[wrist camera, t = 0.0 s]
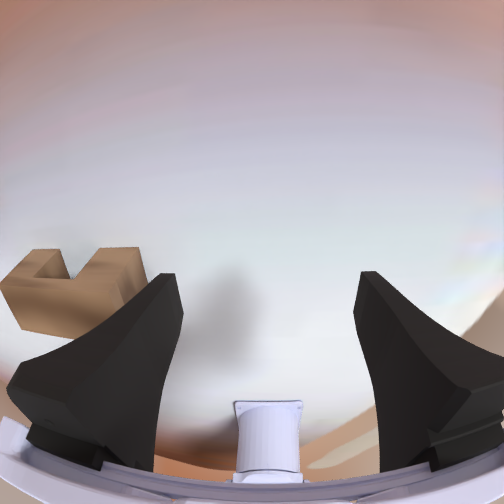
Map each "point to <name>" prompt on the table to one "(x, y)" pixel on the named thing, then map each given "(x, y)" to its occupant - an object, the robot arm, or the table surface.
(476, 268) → the table surface
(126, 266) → the walnut block
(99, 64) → the table surface
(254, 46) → the table surface
